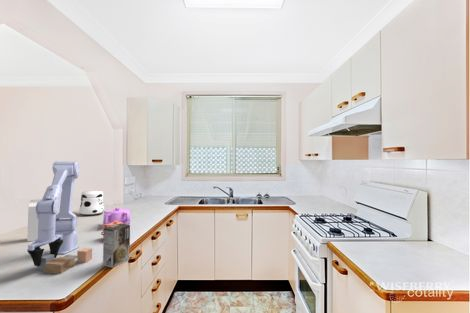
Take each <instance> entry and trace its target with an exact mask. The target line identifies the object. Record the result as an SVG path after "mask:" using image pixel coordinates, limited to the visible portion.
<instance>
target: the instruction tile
mask: <svg viewBox="0 0 470 313" xmlns="http://www.w3.org/2000/svg"><path fill="white" fill-rule="evenodd" d="M63 257H73V258H75V259H77V254H76V255H74V254H66V255H64V256H63Z"/></svg>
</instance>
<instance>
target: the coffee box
mask: <svg viewBox="0 0 470 313" xmlns="http://www.w3.org/2000/svg"><path fill="white" fill-rule="evenodd" d="M130 228H131V224H129V225H126V224H122V223H120V224H116V225H113V226H110V227H106V228H105V227H104V233H103V234H104V237H103V244H102V246H103V247H102V248H103V249H102V250H103V251H102V266H105V267H108V268H111V269H113V268H116V267H118V266H120V265H122V264H124V263H126V262H128V261H130V253H131V252H130V244H131V241H130V240H131V239H130V238H131V229H130Z"/></svg>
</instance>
